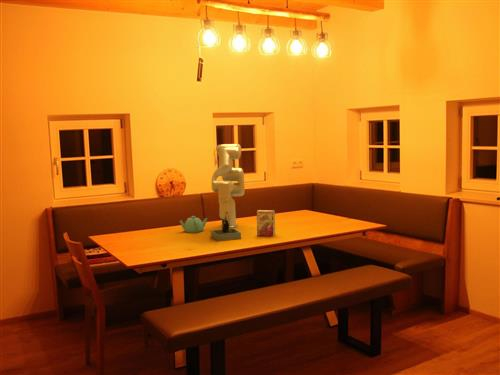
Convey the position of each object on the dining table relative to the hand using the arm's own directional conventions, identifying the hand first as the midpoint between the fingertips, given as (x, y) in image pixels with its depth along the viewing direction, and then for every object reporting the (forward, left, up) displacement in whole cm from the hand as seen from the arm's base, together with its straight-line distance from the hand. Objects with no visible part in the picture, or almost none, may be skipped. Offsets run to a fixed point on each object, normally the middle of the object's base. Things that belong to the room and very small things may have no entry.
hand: (225, 228), depth 335 cm
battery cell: (0, 0, -2) cm, 2 cm away
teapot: (-32, -15, -6) cm, 36 cm away
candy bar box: (+5, +26, -6) cm, 27 cm away
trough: (0, 0, -6) cm, 6 cm away
